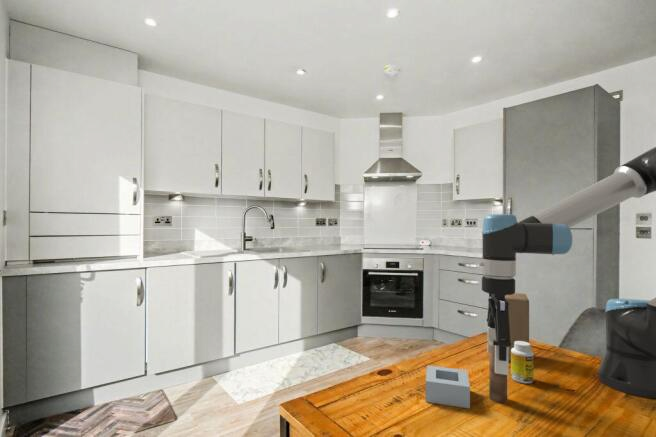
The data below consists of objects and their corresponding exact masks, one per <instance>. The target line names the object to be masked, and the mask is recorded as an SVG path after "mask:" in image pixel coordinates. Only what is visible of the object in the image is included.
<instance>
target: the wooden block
mask: <svg viewBox="0 0 656 437" xmlns="http://www.w3.org/2000/svg"><path fill="white" fill-rule="evenodd" d="M505 300H506V302H508V303H509V305H508V313H509V328H510V342H511V346H509V359H508V362H510V363H511V349H512V348H514V342H515V341H524V342H528V343H530V300H529V298H528V296H527V294H525V293H518V292H515V293H514V294H512V295H505ZM501 340H505V339H501Z"/></svg>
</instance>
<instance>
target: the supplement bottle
mask: <svg viewBox="0 0 656 437" xmlns="http://www.w3.org/2000/svg"><path fill="white" fill-rule="evenodd" d="M534 356H535V355H534V352H533V350H532V349H531V343H530V342H529V343H528V342H524V341H515V342H514V348H512V349H511V362H510V378H511V379H512V381H513V380H514V381H515V382H517V383H520V384H529V385H530V384H532V383H533V382H534V378H535V377H534V376H535V375H534V374H535V373H534V372H535V371H534V370H535V369H534V368H535V366H534V359H535V357H534Z"/></svg>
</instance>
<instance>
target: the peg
mask: <svg viewBox="0 0 656 437" xmlns="http://www.w3.org/2000/svg"><path fill="white" fill-rule="evenodd" d="M493 341H496V340H490V341H489V353H488V354H489V356H488V358H489V360H488V361H489V362H488V363H489V364H488V365H489V368H488V369H489V370H488V371H489V372H488V373H489V378H488V379H489V380H488V381H489V382H488V384H489V385H488V386H489V387H488V392H489V396H488V398H489V400H490V401H492V402H494V403H497V404H506V403H507V402H508V375H504V374H497V373H495V345H493Z"/></svg>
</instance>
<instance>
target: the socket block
mask: <svg viewBox="0 0 656 437" xmlns="http://www.w3.org/2000/svg"><path fill="white" fill-rule="evenodd" d="M470 385H471V384H470V378H469V373H468V370H467V369H459V368H452V367H444V366H436V365H430V364H429V365H427V366H426V375H425V403H433V404H438V405H445V406H452V407H458V408H463V409H464V408H466V409H470V408H471V386H470Z"/></svg>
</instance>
